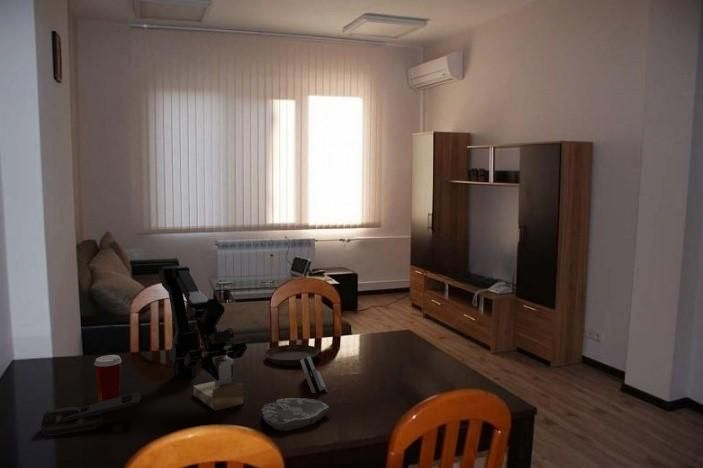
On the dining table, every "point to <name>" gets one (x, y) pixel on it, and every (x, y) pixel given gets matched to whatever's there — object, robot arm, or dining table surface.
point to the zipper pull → (82, 415)
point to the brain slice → (293, 413)
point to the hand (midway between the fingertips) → (225, 378)
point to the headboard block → (219, 395)
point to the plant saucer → (291, 354)
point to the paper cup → (108, 376)
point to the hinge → (313, 376)
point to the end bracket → (223, 371)
